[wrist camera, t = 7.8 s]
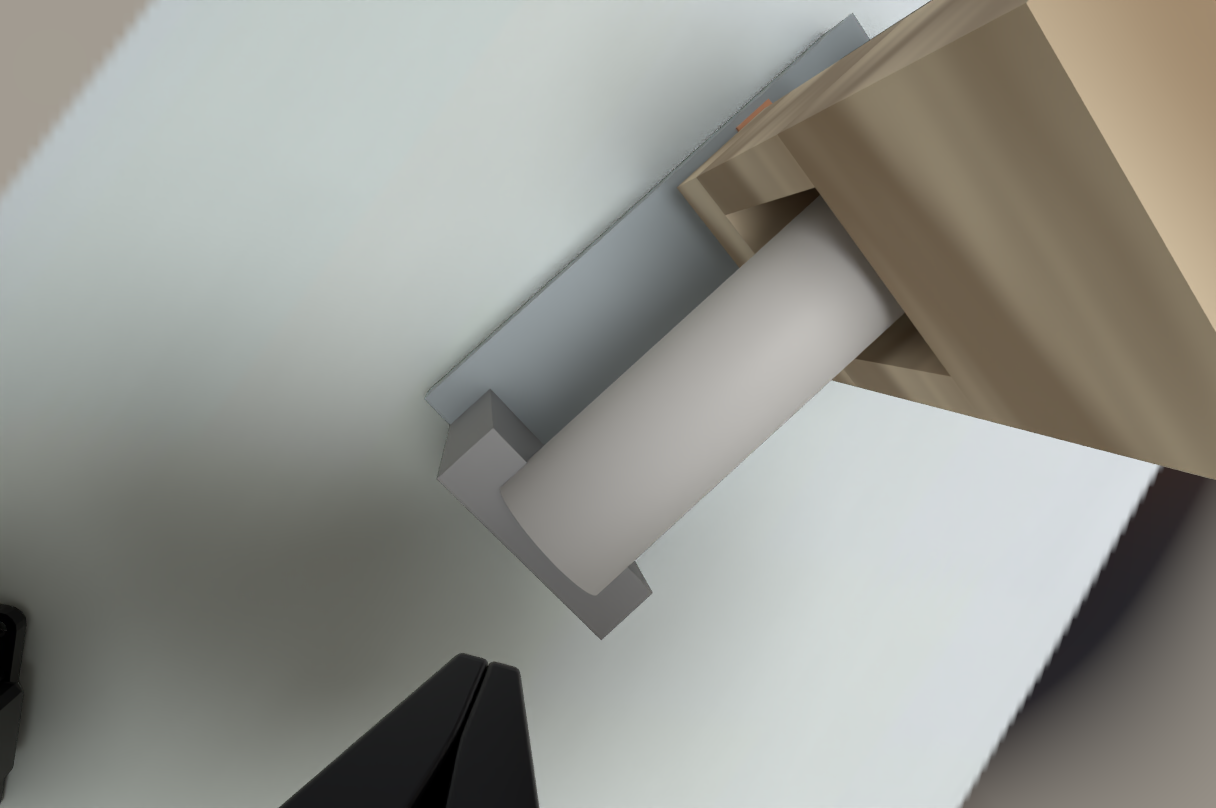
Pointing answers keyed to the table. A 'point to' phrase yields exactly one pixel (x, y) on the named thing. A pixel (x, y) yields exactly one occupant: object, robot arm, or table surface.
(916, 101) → the sleeve
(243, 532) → the table surface
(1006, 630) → the table surface
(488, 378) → the pipe stand
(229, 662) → the table surface
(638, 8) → the table surface
